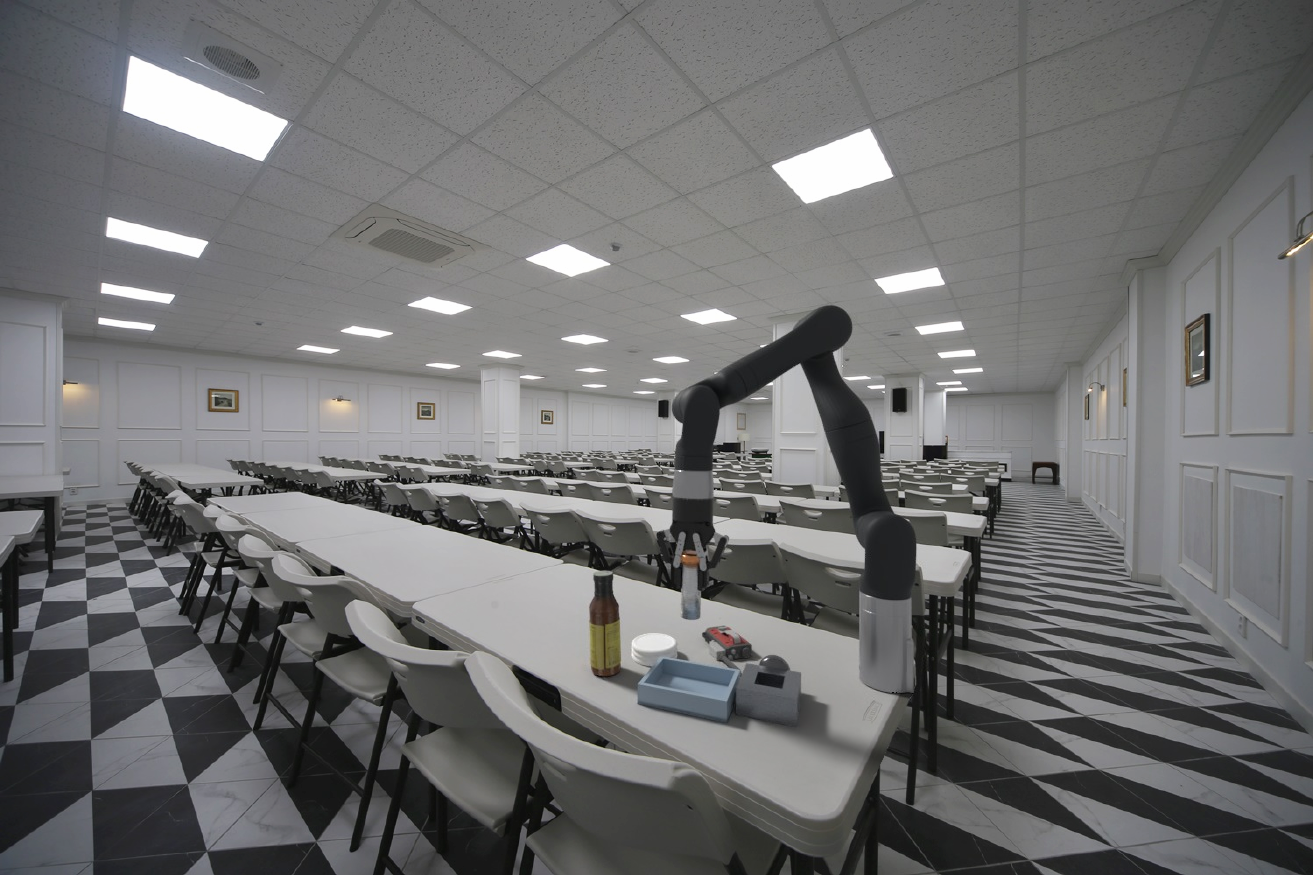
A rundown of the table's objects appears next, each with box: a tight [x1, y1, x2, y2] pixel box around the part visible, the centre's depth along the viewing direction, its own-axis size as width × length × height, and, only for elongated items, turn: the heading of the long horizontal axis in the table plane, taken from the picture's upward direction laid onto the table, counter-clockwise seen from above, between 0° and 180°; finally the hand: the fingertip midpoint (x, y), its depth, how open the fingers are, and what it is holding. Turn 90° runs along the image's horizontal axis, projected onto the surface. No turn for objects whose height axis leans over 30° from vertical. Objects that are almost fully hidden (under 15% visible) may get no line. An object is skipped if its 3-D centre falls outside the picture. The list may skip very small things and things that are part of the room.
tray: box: [637, 656, 741, 724], centre depth 87 cm, size 16×12×4 cm
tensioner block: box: [735, 654, 802, 728], centre depth 85 cm, size 10×12×6 cm
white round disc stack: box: [630, 632, 678, 668], centre depth 103 cm, size 10×10×4 cm
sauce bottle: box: [588, 570, 622, 677], centre depth 97 cm, size 6×6×20 cm
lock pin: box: [680, 550, 702, 621], centre depth 87 cm, size 4×4×12 cm
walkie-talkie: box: [701, 625, 753, 674], centre depth 105 cm, size 9×4×20 cm
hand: (691, 587), depth 87 cm, fingers closed on lock pin, 3 cm apart
